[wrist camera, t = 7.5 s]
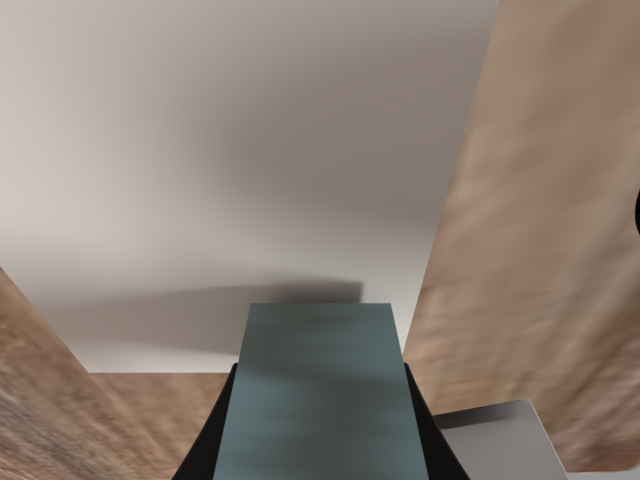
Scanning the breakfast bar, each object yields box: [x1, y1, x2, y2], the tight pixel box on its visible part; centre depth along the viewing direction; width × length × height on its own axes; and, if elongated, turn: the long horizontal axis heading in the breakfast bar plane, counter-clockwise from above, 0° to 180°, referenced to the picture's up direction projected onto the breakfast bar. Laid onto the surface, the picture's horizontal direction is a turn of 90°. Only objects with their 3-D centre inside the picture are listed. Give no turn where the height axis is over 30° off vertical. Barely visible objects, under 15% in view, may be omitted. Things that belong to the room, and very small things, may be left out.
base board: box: [0, 0, 501, 373], centre depth 12 cm, size 16×16×1 cm
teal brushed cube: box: [213, 303, 429, 480], centre depth 11 cm, size 5×5×7 cm
